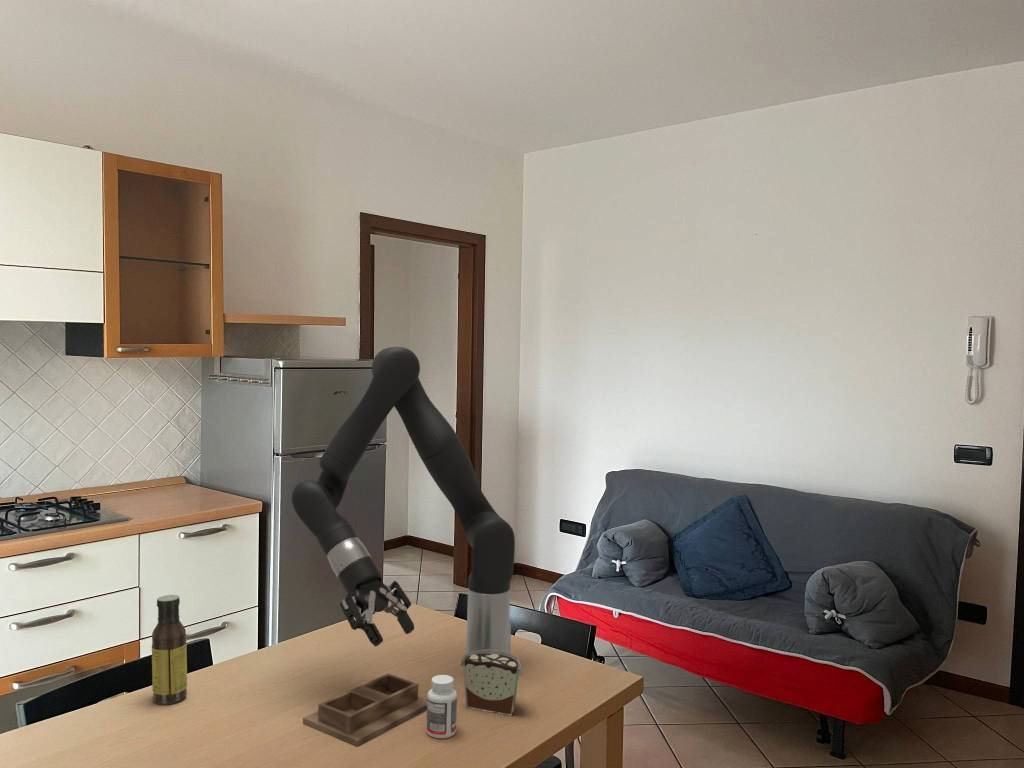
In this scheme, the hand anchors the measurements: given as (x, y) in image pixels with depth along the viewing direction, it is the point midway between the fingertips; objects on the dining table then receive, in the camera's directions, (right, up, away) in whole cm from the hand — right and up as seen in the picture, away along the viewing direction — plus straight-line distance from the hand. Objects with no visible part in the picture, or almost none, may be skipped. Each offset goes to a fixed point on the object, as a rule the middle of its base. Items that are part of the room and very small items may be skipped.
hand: (395, 637), depth 151 cm
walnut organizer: (-5, -15, 0) cm, 15 cm away
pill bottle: (+9, -15, -6) cm, 19 cm away
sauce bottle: (-44, -13, +4) cm, 47 cm away
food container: (+19, -15, +6) cm, 25 cm away
